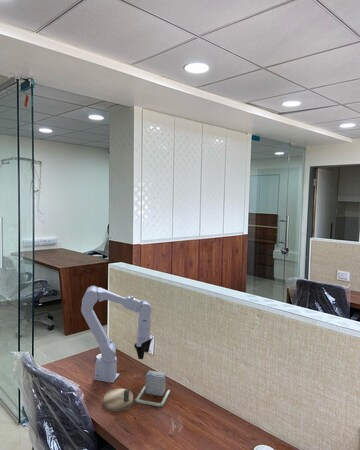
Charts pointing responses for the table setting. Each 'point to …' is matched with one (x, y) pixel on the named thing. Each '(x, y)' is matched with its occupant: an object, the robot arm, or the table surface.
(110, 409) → the base plate
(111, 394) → the disc
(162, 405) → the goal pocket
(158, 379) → the medicine box
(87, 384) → the table surface
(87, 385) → the table surface
